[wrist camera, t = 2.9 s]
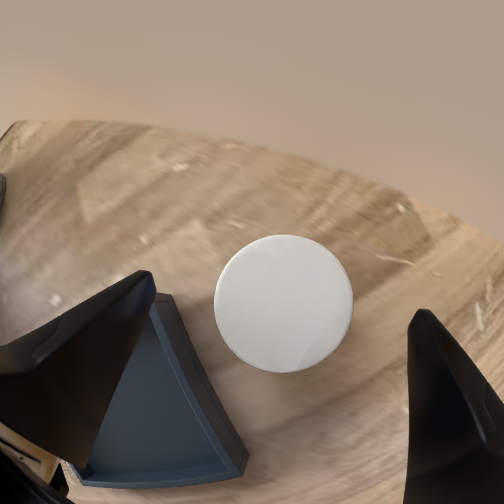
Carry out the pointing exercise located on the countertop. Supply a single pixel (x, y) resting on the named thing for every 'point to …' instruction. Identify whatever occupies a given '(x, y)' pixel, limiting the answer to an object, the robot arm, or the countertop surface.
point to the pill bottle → (283, 303)
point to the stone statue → (2, 188)
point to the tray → (163, 417)
